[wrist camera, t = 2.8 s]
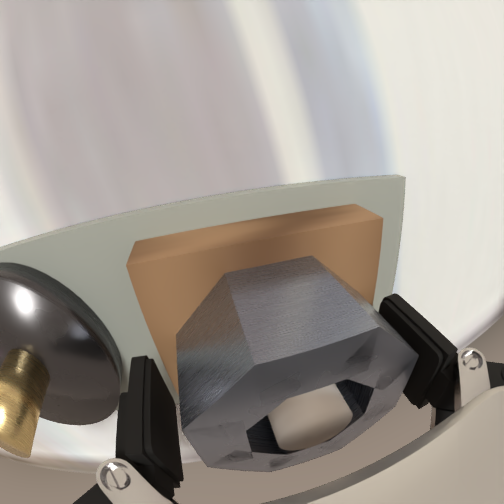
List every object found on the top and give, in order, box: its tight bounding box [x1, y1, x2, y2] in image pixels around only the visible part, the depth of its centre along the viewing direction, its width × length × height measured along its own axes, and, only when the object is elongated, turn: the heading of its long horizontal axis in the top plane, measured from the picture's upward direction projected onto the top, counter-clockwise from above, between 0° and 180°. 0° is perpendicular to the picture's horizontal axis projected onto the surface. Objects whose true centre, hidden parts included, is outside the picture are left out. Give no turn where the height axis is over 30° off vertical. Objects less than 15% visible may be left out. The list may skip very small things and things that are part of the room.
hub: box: [0, 262, 123, 458], centre depth 8 cm, size 10×10×6 cm
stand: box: [126, 204, 383, 450], centre depth 10 cm, size 9×9×6 cm
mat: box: [0, 175, 406, 410], centre depth 12 cm, size 27×11×1 cm, turn 96°
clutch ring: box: [176, 255, 419, 472], centre depth 9 cm, size 7×7×4 cm
